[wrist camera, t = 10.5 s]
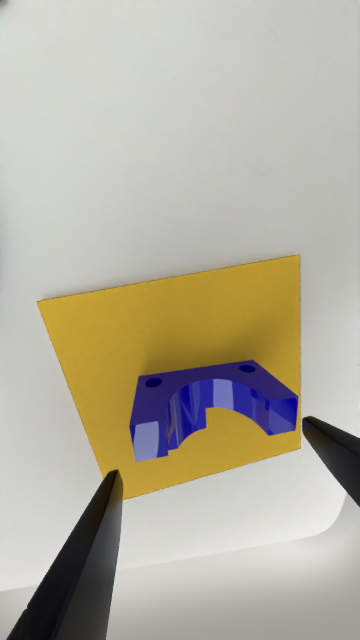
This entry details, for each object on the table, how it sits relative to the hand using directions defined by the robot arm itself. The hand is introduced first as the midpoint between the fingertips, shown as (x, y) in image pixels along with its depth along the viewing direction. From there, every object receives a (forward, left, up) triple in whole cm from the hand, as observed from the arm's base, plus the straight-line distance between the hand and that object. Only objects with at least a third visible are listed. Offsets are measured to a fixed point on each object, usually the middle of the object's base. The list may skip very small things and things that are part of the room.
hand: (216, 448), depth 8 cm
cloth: (0, 0, -5) cm, 5 cm away
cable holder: (0, 0, -4) cm, 4 cm away
